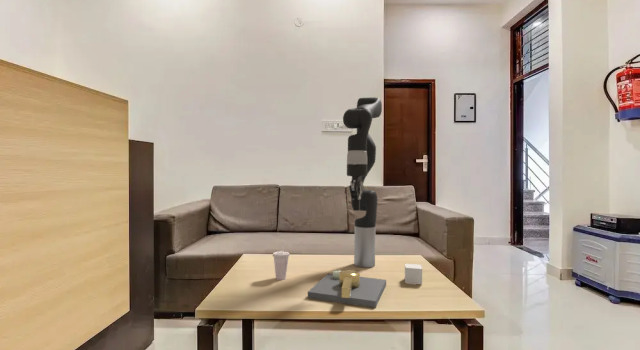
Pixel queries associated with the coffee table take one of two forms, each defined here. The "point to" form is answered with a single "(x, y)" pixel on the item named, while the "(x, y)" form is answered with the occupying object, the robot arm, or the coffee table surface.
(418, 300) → the coffee table surface
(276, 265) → the smoothie
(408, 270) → the beige cube
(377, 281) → the grey base plate
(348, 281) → the tan handled round piece
